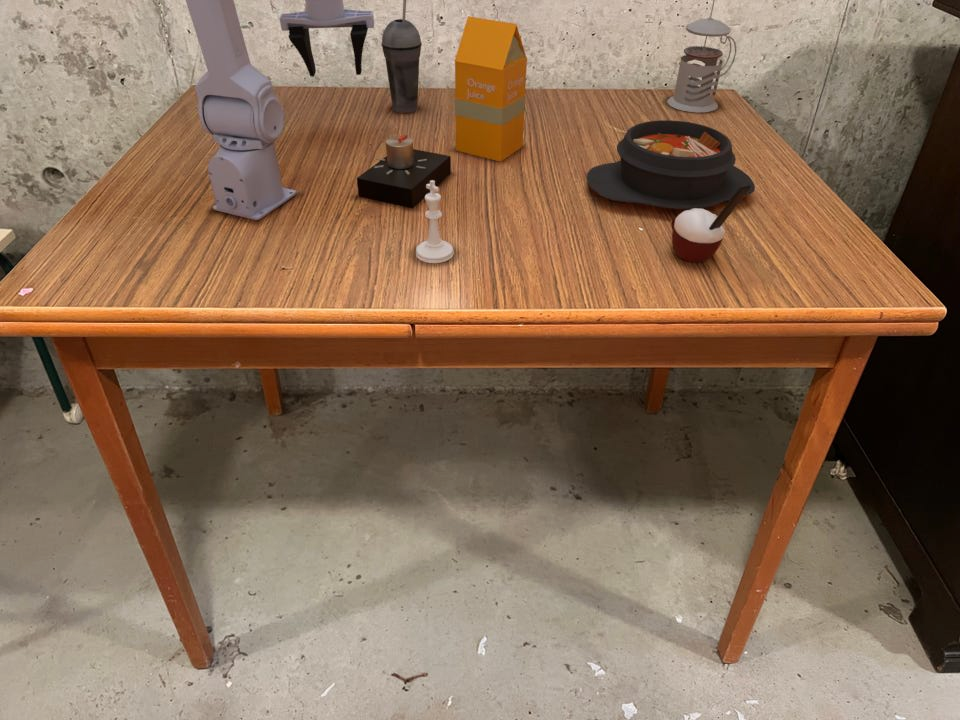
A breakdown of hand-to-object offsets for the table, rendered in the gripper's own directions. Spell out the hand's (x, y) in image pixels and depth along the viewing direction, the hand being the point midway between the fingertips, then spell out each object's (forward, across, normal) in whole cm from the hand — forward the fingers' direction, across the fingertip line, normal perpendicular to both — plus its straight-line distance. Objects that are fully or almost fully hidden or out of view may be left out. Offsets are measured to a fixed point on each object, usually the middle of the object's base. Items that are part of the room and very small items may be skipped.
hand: (336, 73), depth 114 cm
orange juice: (+10, -25, +8) cm, 28 cm away
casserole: (+10, -52, +25) cm, 58 cm away
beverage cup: (+12, -10, -11) cm, 19 cm away
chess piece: (+7, -17, +42) cm, 46 cm away
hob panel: (+8, -12, +22) cm, 26 cm away
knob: (+6, -11, +21) cm, 24 cm away
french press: (+14, -67, -14) cm, 70 cm away
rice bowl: (+8, -50, +44) cm, 67 cm away
